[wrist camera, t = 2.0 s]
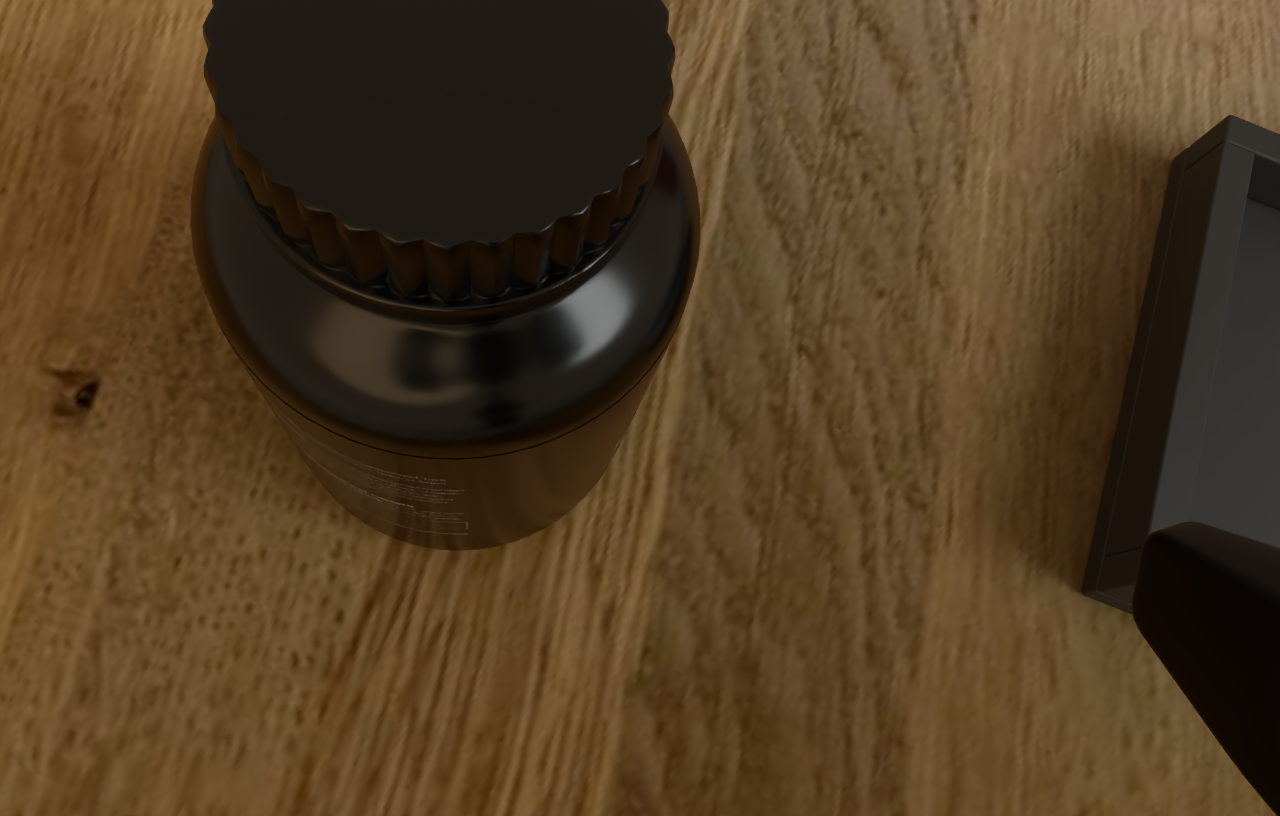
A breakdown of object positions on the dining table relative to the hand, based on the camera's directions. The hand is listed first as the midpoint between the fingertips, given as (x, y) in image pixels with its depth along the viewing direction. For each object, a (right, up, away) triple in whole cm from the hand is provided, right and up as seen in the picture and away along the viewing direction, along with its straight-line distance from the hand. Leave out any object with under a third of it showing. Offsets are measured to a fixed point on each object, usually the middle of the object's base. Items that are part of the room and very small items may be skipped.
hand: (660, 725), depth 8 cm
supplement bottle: (-4, +3, +14) cm, 15 cm away
